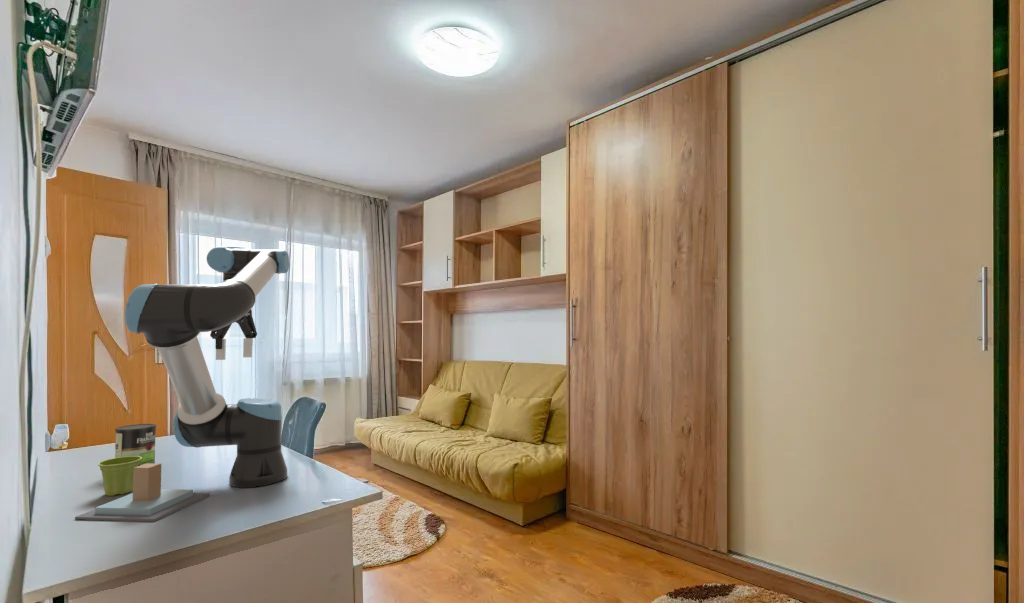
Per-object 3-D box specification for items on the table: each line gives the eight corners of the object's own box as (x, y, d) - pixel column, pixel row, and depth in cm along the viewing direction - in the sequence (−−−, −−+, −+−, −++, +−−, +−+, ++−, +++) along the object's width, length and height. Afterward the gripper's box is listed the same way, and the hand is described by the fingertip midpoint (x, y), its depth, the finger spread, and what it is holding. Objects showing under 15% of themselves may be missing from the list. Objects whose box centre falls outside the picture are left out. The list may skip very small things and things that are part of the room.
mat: (209, 495, 132) (209, 493, 132) (154, 521, 114) (154, 519, 114) (139, 494, 134) (140, 491, 134) (74, 519, 116) (75, 516, 116)
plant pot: (116, 499, 130) (117, 465, 130) (87, 497, 132) (88, 464, 132) (149, 488, 139) (150, 456, 139) (121, 486, 141) (122, 455, 141)
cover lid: (193, 495, 130) (194, 458, 131) (149, 515, 116) (150, 474, 117) (143, 494, 131) (144, 458, 132) (94, 514, 117) (96, 473, 118)
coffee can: (163, 467, 160) (164, 423, 160) (133, 477, 149) (135, 430, 150) (135, 466, 161) (136, 423, 162) (104, 476, 151) (106, 429, 152)
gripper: (248, 296, 177) (247, 356, 176) (197, 291, 152) (196, 360, 151) (268, 296, 176) (267, 356, 175) (220, 290, 151) (219, 360, 150)
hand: (234, 358), depth 163 cm, fingers open, 13 cm apart
